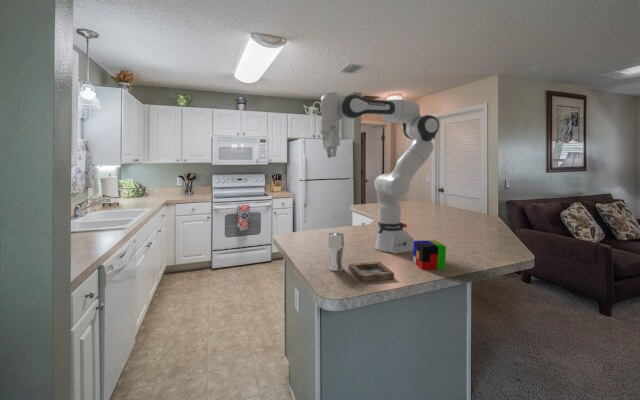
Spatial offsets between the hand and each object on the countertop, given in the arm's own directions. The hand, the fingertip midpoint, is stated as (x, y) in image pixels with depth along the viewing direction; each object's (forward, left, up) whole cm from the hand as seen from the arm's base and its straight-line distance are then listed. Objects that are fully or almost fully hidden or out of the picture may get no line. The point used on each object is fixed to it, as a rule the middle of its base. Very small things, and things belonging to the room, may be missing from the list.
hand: (331, 157), depth 147 cm
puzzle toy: (-37, +27, -48) cm, 66 cm away
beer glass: (+4, +23, -47) cm, 53 cm away
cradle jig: (-8, +32, -47) cm, 58 cm away
